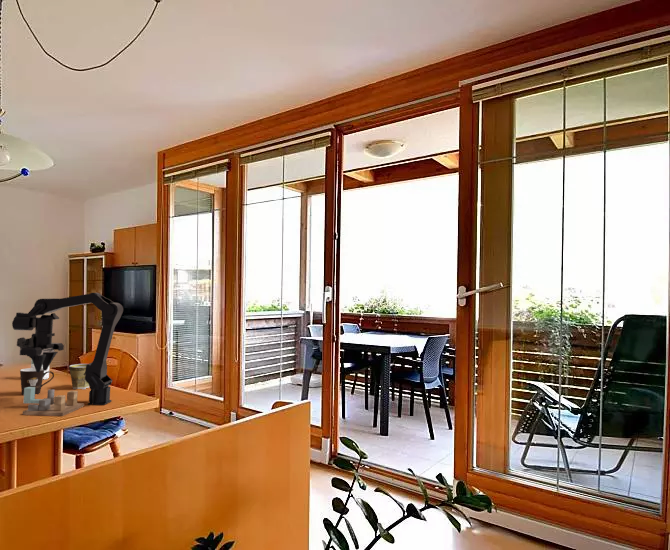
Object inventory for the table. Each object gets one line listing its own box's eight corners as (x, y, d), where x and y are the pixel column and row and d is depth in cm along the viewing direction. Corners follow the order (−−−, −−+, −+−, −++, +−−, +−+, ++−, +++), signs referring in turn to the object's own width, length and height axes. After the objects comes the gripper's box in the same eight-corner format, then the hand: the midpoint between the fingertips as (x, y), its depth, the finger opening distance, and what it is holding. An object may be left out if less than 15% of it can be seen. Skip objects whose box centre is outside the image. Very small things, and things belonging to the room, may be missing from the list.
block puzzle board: (83, 406, 178) (84, 389, 178) (62, 416, 164) (63, 397, 164) (47, 405, 178) (48, 387, 178) (22, 414, 164) (23, 395, 165)
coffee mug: (15, 396, 191) (16, 371, 191) (23, 391, 199) (24, 368, 199) (47, 395, 194) (48, 371, 194) (53, 391, 202) (55, 367, 202)
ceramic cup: (93, 389, 208) (94, 366, 208) (67, 391, 203) (69, 367, 204) (93, 384, 219) (94, 362, 220) (68, 385, 215) (69, 363, 215)
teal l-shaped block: (46, 402, 177) (47, 387, 177) (42, 403, 174) (43, 388, 174) (27, 401, 177) (28, 386, 177) (23, 403, 174) (24, 388, 174)
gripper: (38, 328, 192) (35, 366, 192) (6, 332, 174) (3, 374, 173) (65, 329, 192) (63, 367, 192) (36, 333, 174) (34, 375, 173)
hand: (41, 371), depth 182 cm, fingers open, 4 cm apart
